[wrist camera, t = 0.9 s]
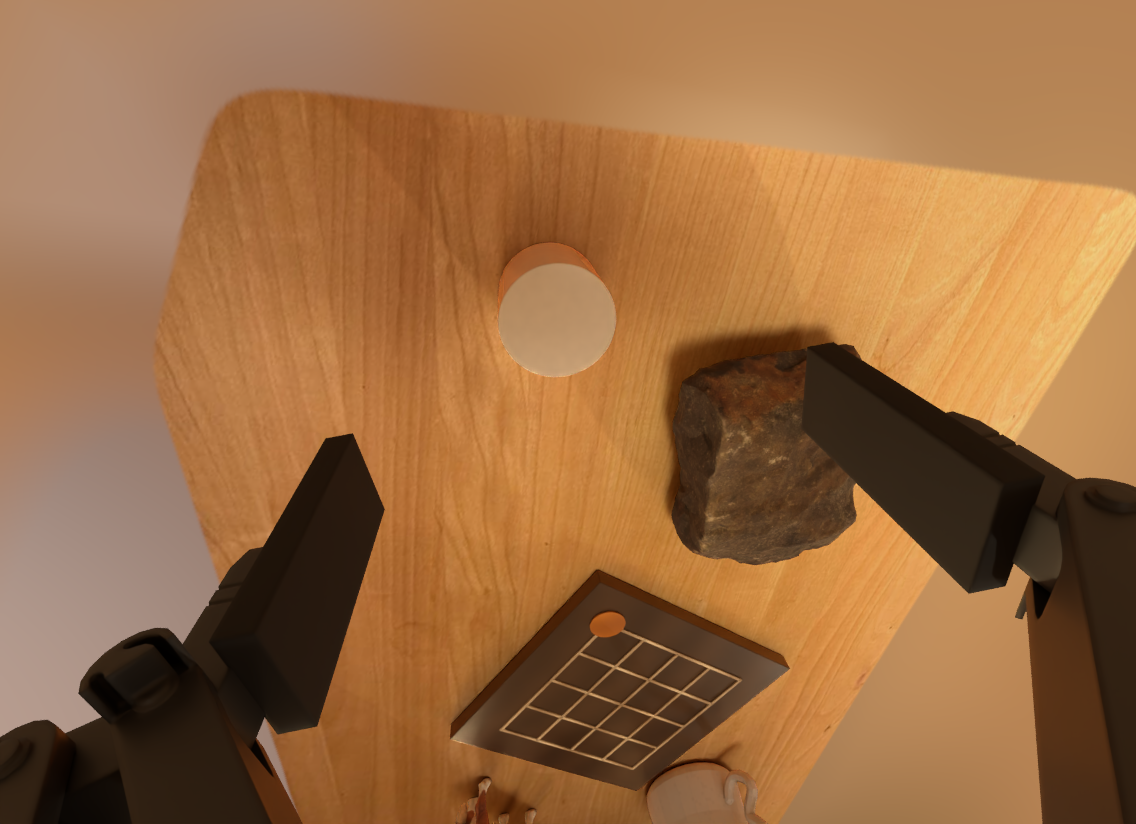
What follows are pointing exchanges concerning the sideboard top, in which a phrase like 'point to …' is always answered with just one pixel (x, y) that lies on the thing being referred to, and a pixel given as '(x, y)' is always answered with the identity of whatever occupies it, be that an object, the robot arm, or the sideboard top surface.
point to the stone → (755, 464)
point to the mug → (702, 796)
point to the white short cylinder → (554, 310)
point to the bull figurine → (484, 809)
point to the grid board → (617, 686)
